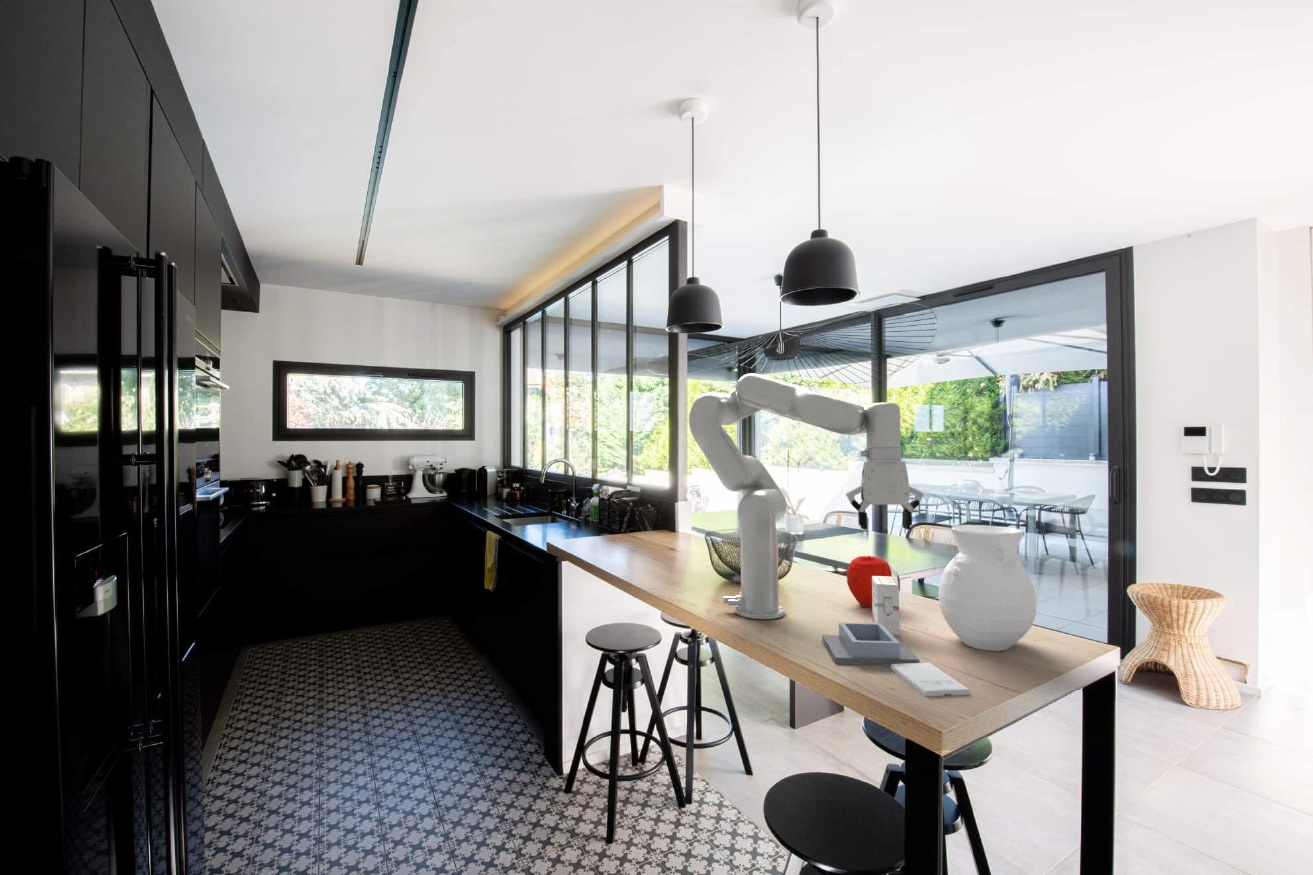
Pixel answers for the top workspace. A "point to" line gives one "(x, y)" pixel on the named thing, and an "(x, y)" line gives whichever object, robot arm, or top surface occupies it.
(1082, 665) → the top surface
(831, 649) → the dock
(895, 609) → the ink cartridge box
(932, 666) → the external hard drive
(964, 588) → the white vase
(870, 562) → the apple
